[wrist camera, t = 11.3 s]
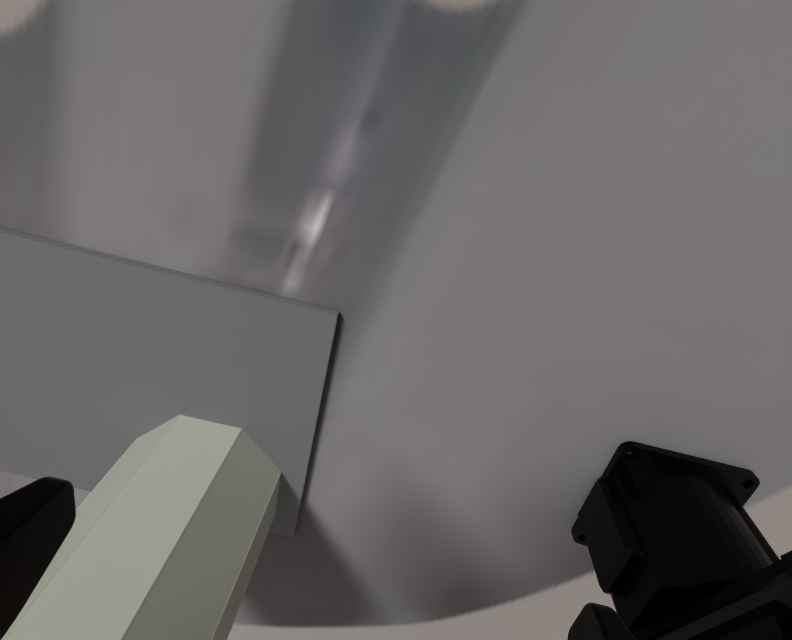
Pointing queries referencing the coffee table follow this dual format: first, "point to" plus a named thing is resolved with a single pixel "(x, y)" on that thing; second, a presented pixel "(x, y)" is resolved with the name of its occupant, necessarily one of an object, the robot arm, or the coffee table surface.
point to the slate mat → (149, 363)
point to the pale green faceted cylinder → (160, 541)
